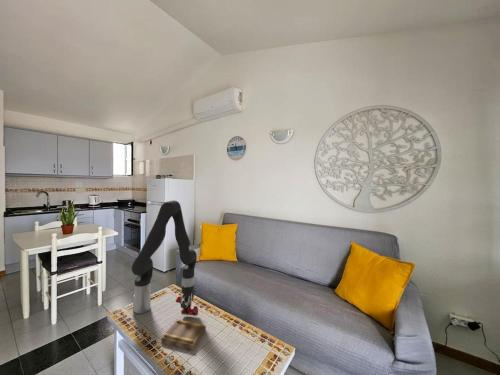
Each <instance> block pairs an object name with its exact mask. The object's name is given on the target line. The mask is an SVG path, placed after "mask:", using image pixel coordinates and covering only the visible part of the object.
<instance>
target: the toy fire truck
mask: <svg viewBox="0 0 500 375" xmlns="http://www.w3.org/2000/svg"><path fill="white" fill-rule="evenodd" d="M182 299H183V295H180V296H178V297H177V298H176V299H175V303H178V304H180V300H182ZM186 302H187V301H186ZM190 304H191V305H192V303H191V301H190V300H189V303H188V306H187V307H188V309H187V313H184V308H182V309H181V311H180V314H181V315H183V316H193V317H197V316H198V314H199V307H198V306H196V305H194V306H193V308H192V306H191V307H189V305H190ZM190 308H191V309H190Z"/></svg>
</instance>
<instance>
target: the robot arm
mask: <svg viewBox="0 0 500 375" xmlns="http://www.w3.org/2000/svg"><path fill="white" fill-rule="evenodd" d="M171 218H172V219H173V223H174V237H175V241H176V243H177V246H178V253H179V259H180V262H182V264H183V268H182V271H181V273H182V274H181V275H182V276H181V288H180V289H181V293H182V296H183V299H182V300H180V303H179V304H180V307H181V308H182V309H183V308H184V313H187V309H188V307H187V306H188V303H189V300H190V301H191V304H190V305H189V307H191V308H190V309H192V302H193V301H194V298H195V297H194V296H195V292H196V290H195V268H196V263H197V252H196V251H195V250H194V249H193V248H192V249H190V246H191V241H190V237H189V235H188V233H187V232H188V231H187V230H186V226H185V221H184V215H183V211H182V206H181V203H180V201H177V200H168V201H165V202H163V203H162V204H161V206H160V208H159V211H158V214H157V216H156V218H155V219H156V220H155V221H154V223H153V225H152V227H151V229H150V231H149V234H148V235H147V238H146V239H145V242H144V244H143V246H142V248H141V249H140V251H139V253H138V254H137V257H136V258H135V260H134V261H133V263H132V265H131V272H132V274H133V275H134V276H136V278H134V293H133V294H134V295H133V296H132V312H134V313H135V314H137V315H141V314H142V315H143V314H146V313H148V312H149V311H150V310H151V306H152V305H151V302H152V301H151V300H152V299H151V298H152V297H151V296H152V294H151V293H152V292H151V291H152V287H151V286H152V285H151V284H152V278H153V271H154V263H153V259H152V258H151V257H152V256H153V255H154V254H155V253H156V251H157V250H158V249H160V246H161V245H162V244H163V241H164V239H165V237H166V232H167V225H168V222H169V221H170V219H171ZM186 301H187V302H186Z"/></svg>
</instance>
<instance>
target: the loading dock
mask: <svg viewBox="0 0 500 375" xmlns="http://www.w3.org/2000/svg"><path fill="white" fill-rule="evenodd" d="M206 328H207V325H204V324H200V323H196V322H191V321H187V320H183V319H176V320H175V321H174V323H173V324H172V325H171V326H170V327H169V328H168V329H167V330H166V331H165V333H163V335H162V336H160V343H161V344H164V345H166V346H167V345H168V346H171V347H176V348H179V349H183V350H187V351H192V352H193V351H194V350H195V348H196V346H198V344H199V342H200V341H201V339H202V338H203V336H204V335H205V333H206Z"/></svg>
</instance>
